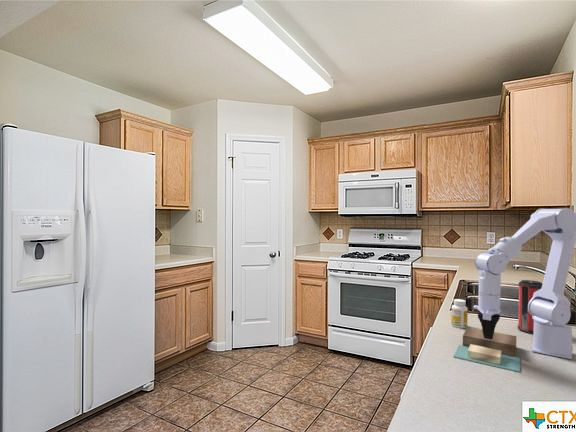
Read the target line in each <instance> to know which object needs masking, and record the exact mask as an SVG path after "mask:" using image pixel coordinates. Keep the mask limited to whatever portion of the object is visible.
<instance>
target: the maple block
mask: <svg viewBox="0 0 576 432" xmlns="http://www.w3.org/2000/svg"><path fill="white" fill-rule="evenodd" d="M501 352H502V351H501V350H496V349H491V348H486V347H482V346H477V345H472V344H470V346H469V349H468V357H469V358H473V359H477V360H482V361H486V362H490V363H495V364H499V365H500V362H501Z"/></svg>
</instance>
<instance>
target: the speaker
mask: <svg viewBox="0 0 576 432" xmlns="http://www.w3.org/2000/svg"><path fill="white" fill-rule="evenodd" d="M542 284H543V282H541V281H538V280H537V281H536V280H530V279H523V280H522V279H521V280H520V281H519V282H518V320H517V321H518V322H517V329H518V330H519V331H520V332H523V333H527V334H531V335H534V319H532V315H531V314H530V313H529V311H528V303H529V301H530V300H531V299H532V297H533V294H534V292H536V291H538V290H540V289H541V288H542Z"/></svg>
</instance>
